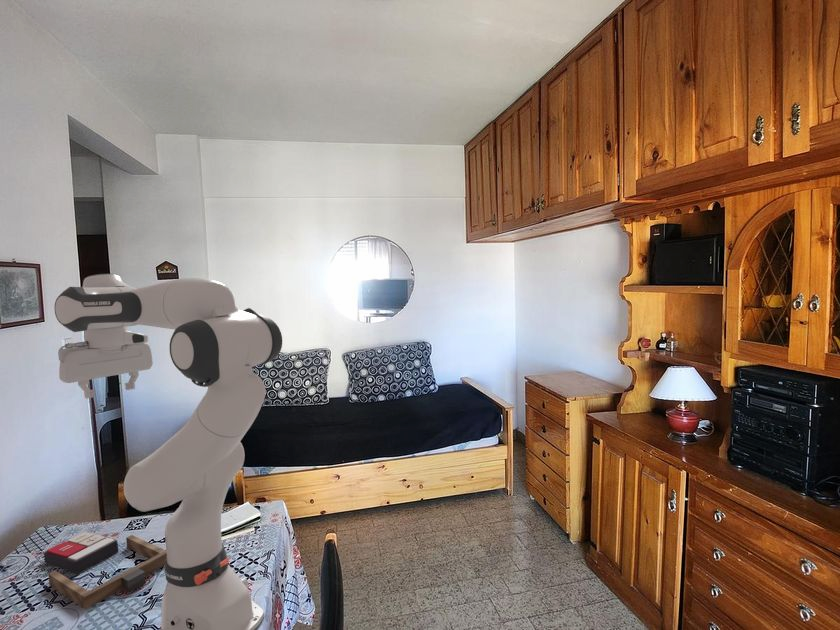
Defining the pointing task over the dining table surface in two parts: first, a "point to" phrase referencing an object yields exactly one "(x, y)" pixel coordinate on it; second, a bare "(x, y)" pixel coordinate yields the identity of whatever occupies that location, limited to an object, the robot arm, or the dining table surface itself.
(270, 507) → the dining table surface
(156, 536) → the dining table surface
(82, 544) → the red and white box
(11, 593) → the dining table surface
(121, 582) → the cradle
